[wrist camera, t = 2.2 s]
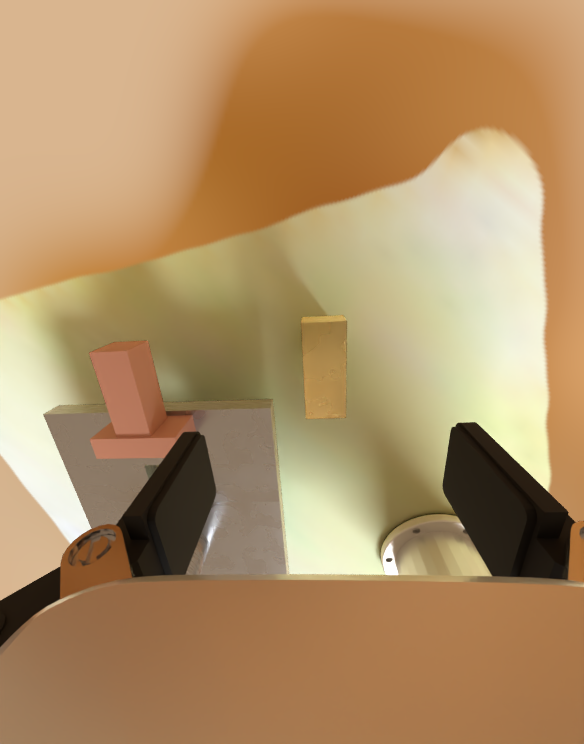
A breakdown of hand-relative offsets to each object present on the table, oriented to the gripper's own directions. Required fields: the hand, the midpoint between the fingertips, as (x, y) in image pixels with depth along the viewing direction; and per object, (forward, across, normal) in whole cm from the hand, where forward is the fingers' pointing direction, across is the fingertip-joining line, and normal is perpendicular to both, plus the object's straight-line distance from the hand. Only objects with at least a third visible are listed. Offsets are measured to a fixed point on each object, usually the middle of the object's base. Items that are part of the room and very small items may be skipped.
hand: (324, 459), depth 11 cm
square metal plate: (+17, +13, +13) cm, 25 cm away
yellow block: (+17, 0, 0) cm, 17 cm away
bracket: (+10, +13, +1) cm, 16 cm away
